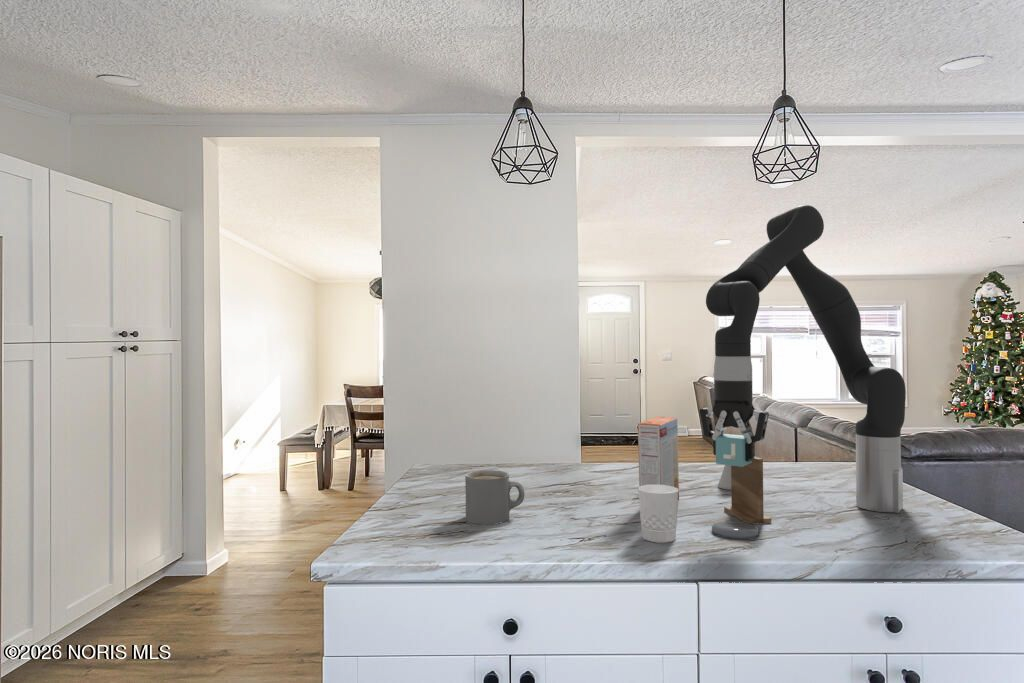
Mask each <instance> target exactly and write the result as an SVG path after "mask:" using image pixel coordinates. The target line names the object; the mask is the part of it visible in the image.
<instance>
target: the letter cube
mask: <svg viewBox="0 0 1024 683" xmlns="http://www.w3.org/2000/svg"><path fill="white" fill-rule="evenodd" d="M745 444H746V441H745V438H744V436H743V434H742V435H741V434H730V433H723V435H721V436H718V437H716V455H715V464H717V465H722V466H725V465H731V466H740V467H743V466H745V465H748V464H750V463H752V461H750V462H746V461H745Z"/></svg>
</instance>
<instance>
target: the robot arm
mask: <svg viewBox="0 0 1024 683" xmlns="http://www.w3.org/2000/svg"><path fill="white" fill-rule="evenodd" d="M824 230H825V223H824V219H823V216H822V215H821V213H820V211H819V210H818V209H817V208H816V207H815V206H813V205H811V204H810V205H809V204H802V205H798V206H796V207H794V208H791V209H789V210H787V211H784V212H782V213H780V214H778V215H776V216H773V217H771V218H770V219H769V220H768V222H767V224H766V234H767V239H768V240H769V241H768V242H767V243H765V244H764V245H763V246H760V247H759V248H758V249H757V250H755V251H754V252H752V253H751V254H750V255H749V256H748V257H747V258H746V259H745V260H744V261H743V262H742V263H741V265H739V267H738V268H737V269H735V270H734V271H732V272H729V273H727V274H726V275H724V276H723V277H722V278H720V279H718V280H716V281H715V282H714V283H713V284H712V285H711V286H710V288H709V289H708V291H707V293H706V297H705V305H706V308H707V310H708V311H709V312H710V313H711V314H712V315H713V316H716V317H717V316H718V317H733V319H732V321H731V323H730V325H728V326H725V327H723V328H719V329H717V330H716V332H715V335H714V336H715V337H714V366H713V389H714V390H713V394H714V395H713V396H714V397H713V398H714V404H713V405H712V407H703V408H700V409H699V415H700V420H701V426H702V431H703V435H704V437H706V438H710V439H711V440H712V442H713V444H712V445H713V446H712V448H713V452H712V453H713V455H714V456H716V437H718V436H721V435H724V434H725V431H726V430H727V429H728V428H730V427H733V428H737V429H739V431H740V433H741V434H742V435H743V436H744V438H745V441H746V444H745V461H746V462H750V461H752V459H753V458H754V457H756V454H755V452H756V446H755V445H756V442H760V441H763V440H764V439H765V436H766V431H767V426H768V425H767V424H768V421H769V412H768V411H766V410H765V411H761V410H757V409H756V408H755V407H754V405H753V365H752V364H753V363H752V357H751V355H752V353H751V350H752V349H751V348H752V347H751V342H752V341H751V338H752V332H753V330H754V326H755V325H754V324H755V321H756V317H757V314H758V310H759V306H760V299H761V298H760V293H762V292H763V291H764V289H766V287H767V286H768V285H769V284H770V283H771V282H772V281H773V280H774V278H775V277H776V276H778V274H780V272H781V271H782V270H783V269H784V268H786V270H787V271H788V272H789V274H790V275H791V278H792V279H793V281H794V282H795V284H796V286H797V287H798V290H799V291H800V293H801V294H802V296H803V298H804V300H805V303H806V304H807V306H808V309H809V311H810V313H811V315H812V316H813V319H814V321H815V322H816V324H817V326H818V327H819V329H820V331H821V333H822V335H823V337H824V338H825V341H826V343H827V346H829V349H830V350H831V352H832V354H833V355H834V356H833V357H834V358H835V360H836V362H837V364H838V367H839V370H840V372H841V375H842V378H843V380H844V383H845V385H846V387H847V390H848V392H849V394H850V395H851V396H852V398H853V399H854V400H855V401H857V402H858V403H860V404H862V405H866V414H865V416H864V417H863V418H862V419H861V420H858V421H857V422H856V423H855V492H856V493H855V500H856V501H855V503H856V506H857V507H858V508H859V509H864V510H867V511H871V512H873V511H874V512H881V513H895V514H896V513H898V514H899V513H901V511H902V509H903V508H904V494H903V493H904V489H903V488H904V487H903V486H904V484H903V477H904V476H903V467H902V465H901V464H902V459H901V458H902V455H901V454H902V450H901V448H902V447H901V433H902V432H901V431H902V427H903V425H904V423H905V418H906V416H905V415H906V395H907V394H906V384H905V380H904V378H903V375H902V374H901V373H900V372H899V371H897V369H895V368H892V367H885V366H883V367H882V366H875V365H874V364H873V362H872V360H871V359H870V357H869V356H868V354H867V352H866V350H865V348H864V345H863V343H862V322H861V321H862V318H861V314H860V311H859V308H858V306H857V305H856V303H855V300H854V298H853V297H852V294H851V293H850V291H849V289H848V288H847V287H846V286H845V284H843V283H842V282H840V281H839V280H838V279H836V278H834V277H833V276H831V274H828V273H827V272H825V271H823V270H822V269H820V268H819V267H817V266H816V265H815V264H814V263H813V262H812V261H811V260H810V258H809V257H808V256H807V255H806V253H805V252H804V250H805V249H806V248H808V247H809V246H811V245H812V244H814V243H815V242H816V241H818V240H819V239H820V238H821V237H822V236H823V233H824ZM713 415H714V416H715V417H716V419H718V420H717V422H716V425H715V427H713V422H712V418H713ZM753 416H754V417H755V418H754V419H755V421H756V422H757V423H756V428H755V433H754V432H753V428H752V425H751V422H750V420H751V419H752V417H753Z"/></svg>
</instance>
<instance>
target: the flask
mask: <svg viewBox="0 0 1024 683" xmlns="http://www.w3.org/2000/svg"><path fill="white" fill-rule="evenodd" d="M723 466H724V467H723V469H722V472H721V475H720V478H719V481H718V484H717V488H720V489H722V490H727V491H728V490H730V491H731V465H723Z"/></svg>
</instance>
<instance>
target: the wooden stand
mask: <svg viewBox="0 0 1024 683" xmlns="http://www.w3.org/2000/svg"><path fill="white" fill-rule="evenodd" d="M730 491H731V492H730V493H731V506H723V508H724V509H723V511H724V512H725V513H726V514H727V513H728V514H729V515H731V516H733V517H735V518H737V519H739V520H741V521H742V522H745V523H746V524H749V525H760V523H762V524H771V523H772V517H769V516H767V515H765V514H764V459H763V458H761V457H757V456H755V457H754V458H753V459H752V463H750V464H748V465H745V466H743V467H740V466H731V490H730Z"/></svg>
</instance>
